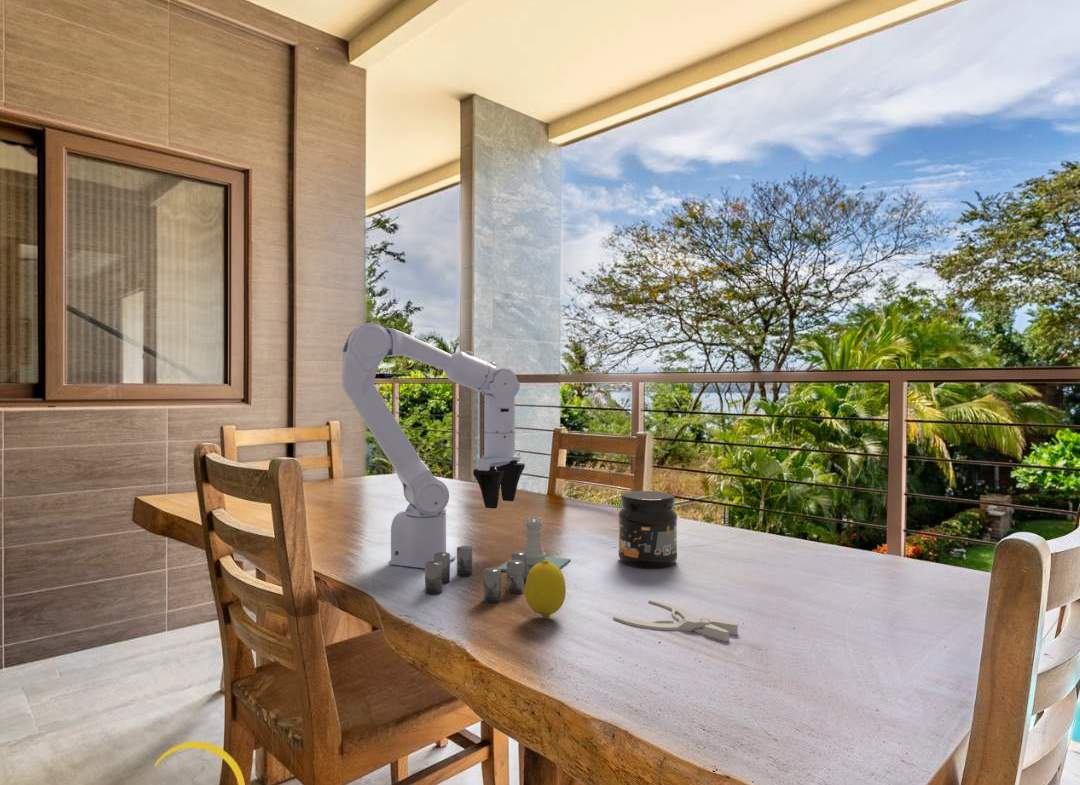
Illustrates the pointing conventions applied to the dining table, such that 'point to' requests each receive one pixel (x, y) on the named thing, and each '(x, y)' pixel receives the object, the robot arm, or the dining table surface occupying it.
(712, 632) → the pliers
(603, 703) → the dining table surface
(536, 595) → the lemon
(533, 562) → the rook chess piece
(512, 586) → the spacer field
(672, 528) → the supplement container
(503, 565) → the mat
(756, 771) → the dining table surface
